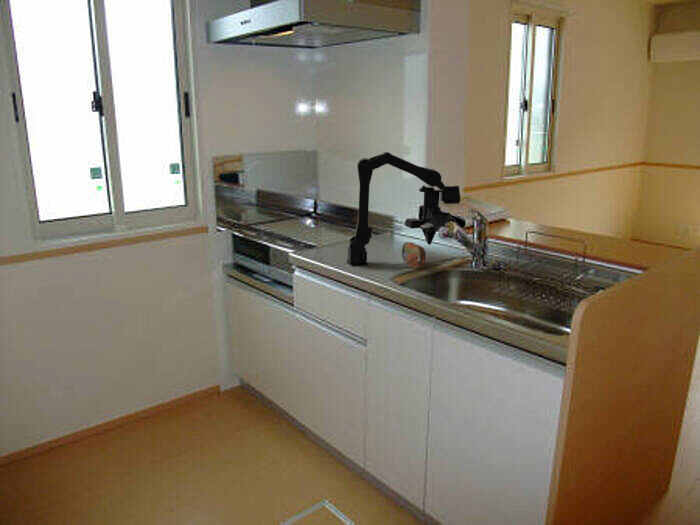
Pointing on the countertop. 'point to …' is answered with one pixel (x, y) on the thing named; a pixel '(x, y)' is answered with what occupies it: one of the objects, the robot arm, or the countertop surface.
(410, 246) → the tin
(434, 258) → the countertop surface
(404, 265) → the drying mat
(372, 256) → the countertop surface
